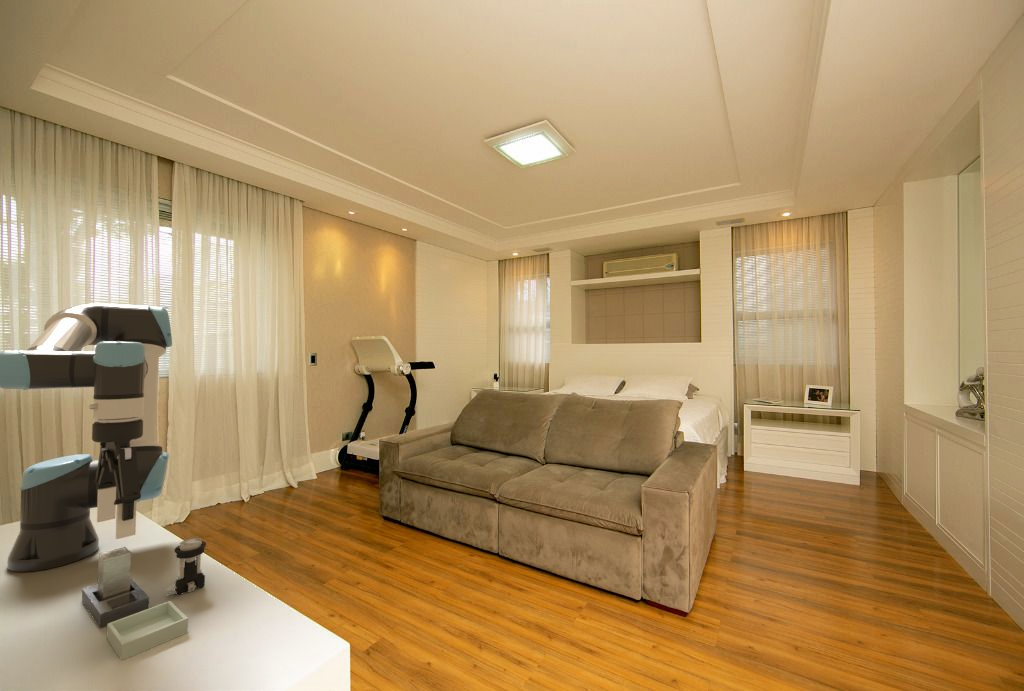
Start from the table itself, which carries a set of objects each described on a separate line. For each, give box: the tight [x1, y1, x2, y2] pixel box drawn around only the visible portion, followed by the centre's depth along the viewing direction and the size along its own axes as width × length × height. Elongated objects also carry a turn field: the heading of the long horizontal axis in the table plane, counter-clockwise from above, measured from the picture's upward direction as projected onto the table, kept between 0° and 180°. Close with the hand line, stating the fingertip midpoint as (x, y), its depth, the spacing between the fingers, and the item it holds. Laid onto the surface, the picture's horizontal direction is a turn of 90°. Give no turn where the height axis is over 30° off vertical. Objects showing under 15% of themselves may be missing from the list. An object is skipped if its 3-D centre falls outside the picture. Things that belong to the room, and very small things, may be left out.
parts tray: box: [106, 600, 189, 661], centre depth 78 cm, size 9×9×2 cm
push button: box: [165, 537, 207, 597], centre depth 92 cm, size 7×5×10 cm
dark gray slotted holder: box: [81, 576, 150, 629], centre depth 86 cm, size 14×7×3 cm, turn 54°
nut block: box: [97, 546, 132, 602], centre depth 87 cm, size 4×4×10 cm
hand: (115, 528), depth 87 cm, fingers open, 13 cm apart
